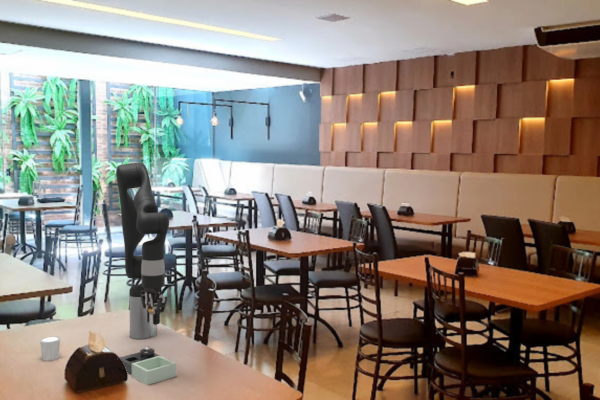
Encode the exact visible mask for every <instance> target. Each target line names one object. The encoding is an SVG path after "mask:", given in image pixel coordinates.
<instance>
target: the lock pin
mask: <svg viewBox="0 0 600 400" xmlns="http://www.w3.org/2000/svg"><path fill="white" fill-rule="evenodd" d="M148 312H149V321H150V336H151V337H156V336H158V324H157V325H154V324H153V308H149V309H148Z"/></svg>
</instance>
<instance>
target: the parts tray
mask: <svg viewBox="0 0 600 400" xmlns="http://www.w3.org/2000/svg"><path fill="white" fill-rule="evenodd" d="M175 377H177V362H175V361H172V360H170V359H168V358H166V357H164V356H162V355H160V356H157V357H153V358H150V359H146V360H142V361H139V362H135V363H132V375H131V378H134V379H135V380H137V381H138V382H141V383H143V385H146V386H149V385H151V384H155V383H159V382H162V381H165V380H168V379H172V378H175Z"/></svg>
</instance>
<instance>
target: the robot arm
mask: <svg viewBox="0 0 600 400" xmlns="http://www.w3.org/2000/svg"><path fill="white" fill-rule="evenodd" d="M115 173H116V174H115V175H116V184H117V189H118V190H117V191H118V195H119V201H120V214H121V217H120V218H121V228H122V236H123V243H124V269H125V270H124V271H125V276H126V277H127V278H128V279H135V280H136V279H140V280H141V282H140V283H139V284H137V285H134V286H131V287H130V288H129V290H128V291H129V293H128V294H129V295H128V296H129V337H130V338H131V339H135V340H143V339H149V338H151V337H152V336H150V321H149V312H148V309H149V308H153V324H154V325H157V326H158V325H159V324H160V322H161V313H164V312H165V309H166V305H167V302H168V296H164V295H163V291H162V289H163V287H164V286H165V283H166V281H165V279H166V277H165V275H166V273H165V272H166V269H165V266H166V265H165V257H164V256H165V250H164V249H165V242H166V237H167V233H168V230H169V228H170V218H169V216H168V215H167V214H166V213H165V212H159V209H158V205H157V203H156V200H155V197H154V194H153V190H152V184H151V180H150V175H149V172H148V168H147V166H146V164H145V163H143V162H133V163H132V162H131V163H124V164H119V165H117V167H116V170H115ZM137 188H138V190H137V191H136V193H135V194H134V197H133V198H132V196H131V195H130V193H129V191H128V190H130V189H137ZM145 235H156V236H155V237H153V239H150V240H147V241H144V242H143V243H142V245H141V255H134V253H135V251H136V249H137V247H138V245H140V243H141V241H142V240H143V239H144V237H145Z"/></svg>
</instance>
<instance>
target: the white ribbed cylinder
mask: <svg viewBox="0 0 600 400" xmlns="http://www.w3.org/2000/svg"><path fill="white" fill-rule="evenodd" d="M39 342H40V343H39V344H40V352H41V360H43V361H46V362H47V361H49V362H50V361H54V360H55V361H56V360H57V359H60V358H59V357H60V346H61V337H59V336H48V337H46V336H45V337H44V338H43V337H42V338H41V339H39Z"/></svg>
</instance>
